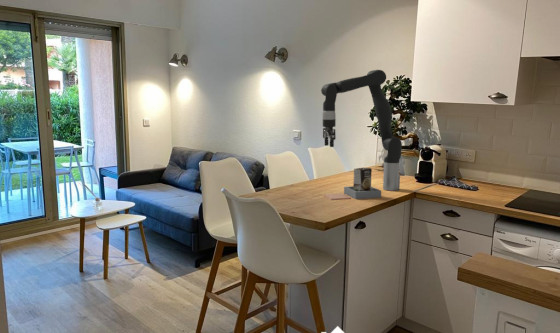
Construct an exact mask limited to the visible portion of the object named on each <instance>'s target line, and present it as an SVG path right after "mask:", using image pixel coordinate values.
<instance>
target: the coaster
mask: <svg viewBox="0 0 560 333" xmlns="http://www.w3.org/2000/svg"><path fill="white" fill-rule="evenodd" d="M322 196H324V197H326V198H327V199H329V200H330V201H332V200H334V201H335V200H336V201H337V200H346V199H347V200H348V199H350V200H351V198H352V197H350V196H348V195H346V194H344V192H340V193H338V192H337V193H323V195H322Z"/></svg>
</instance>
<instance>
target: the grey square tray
mask: <svg viewBox="0 0 560 333" xmlns="http://www.w3.org/2000/svg"><path fill="white" fill-rule="evenodd" d="M343 194H345V195H347V196H349V197H351V198H353V199H354V200H361V199H363V200H364V199H378V198H382V190H381V189H379V188H376V187H374V186H371V191H355V190H353V186H344V187H343Z"/></svg>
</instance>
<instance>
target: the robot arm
mask: <svg viewBox="0 0 560 333" xmlns="http://www.w3.org/2000/svg"><path fill="white" fill-rule="evenodd" d="M386 80H387V74H386V72H385V71H384V70H382V69H374V70H373V69H372V70H370V71H368V73H366V74H365V75H363V76H356V77H352V78H347V79H343V80H340V81H337V82H330V83H326V84H324V85H322V87H321V89H320V91H321V94H322V96H325V99H324V101H323V104H322V127H323V128H322V138H323V139H324V146H329V148H334V146H335V143H334V142H335V140H336V138H337V137H336V129H335V128H336V120H337V118H336V116H337V115H336V101H337V95H338V94H342V93H343V94H344V93H347V92H351V91H354V90H357V89H360V88H364V87H368V88H369V91H370V94H371V98H372V99H371V100H372V102H373V106H374V110H375V115H376V119H377V124H378V128H379V131H380V136H381V138H380V139H381V145H382V147H383V149H384V150H385V151H387V155H386V156H385V157H384V159H383V176H382V180H383V181H382V182H383V183H382V184H383V185H382V190H385V191H393V192H394V191H399V190H400V187H401V186H400V185H401V174H399V173H400V159H401V157H402V150H403V149H402V148H403V147H402V140H401V139H400V138H399V137H397V136H394V135H393V131H392V122H393V112H392V108H391V105H390V103H389V101H388V99H387V97H386V96H385V94H384V92H383V89H382V85H383V84H384V83H385V82H386ZM334 127H335V128H334Z"/></svg>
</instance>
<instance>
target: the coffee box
mask: <svg viewBox="0 0 560 333" xmlns="http://www.w3.org/2000/svg"><path fill="white" fill-rule="evenodd" d="M372 170H373V168H370V167H358V168H353V190H355V191H371V187H372Z"/></svg>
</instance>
